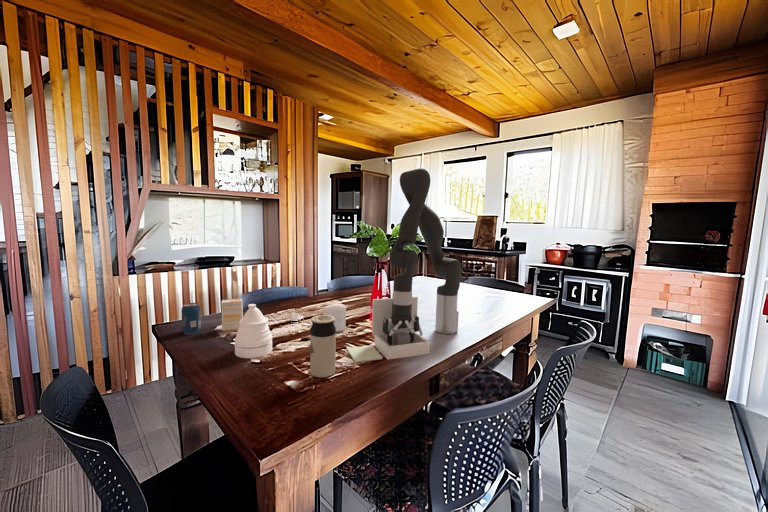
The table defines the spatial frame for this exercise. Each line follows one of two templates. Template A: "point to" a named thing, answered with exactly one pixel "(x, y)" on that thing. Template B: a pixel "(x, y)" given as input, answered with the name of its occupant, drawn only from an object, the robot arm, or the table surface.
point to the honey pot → (253, 335)
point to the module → (401, 338)
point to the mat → (364, 353)
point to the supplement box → (231, 314)
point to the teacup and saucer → (296, 317)
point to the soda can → (191, 318)
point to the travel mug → (322, 346)
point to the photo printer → (337, 315)
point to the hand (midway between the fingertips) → (400, 343)
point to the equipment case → (397, 351)
